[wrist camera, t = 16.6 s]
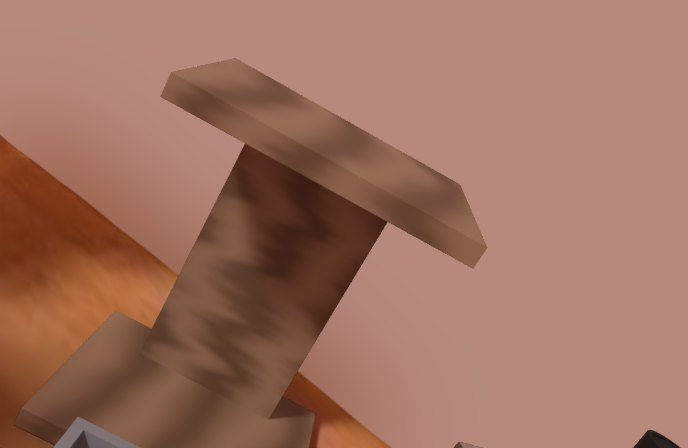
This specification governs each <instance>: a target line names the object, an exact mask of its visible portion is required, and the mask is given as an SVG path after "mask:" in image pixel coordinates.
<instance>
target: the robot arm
mask: <svg viewBox="0 0 688 448" xmlns="http://www.w3.org/2000/svg"><path fill="white" fill-rule="evenodd" d="M454 448H481V447H478V446H474V445H470V444H466V443H463V442H459V443H458V444H457V445H455V447H454Z"/></svg>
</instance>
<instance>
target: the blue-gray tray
mask: <svg viewBox="0 0 688 448" xmlns="http://www.w3.org/2000/svg"><path fill="white" fill-rule="evenodd" d="M53 448H140V447H138V446H136V445H134V444H132V443H130V442H128V441H126V440H124V439H122V438H120V437H118V436H116V435H114V434H112V433H110V432H108V431H106V430H104V429H102V428H100V427H98V426H96V425H94V424H92V423H90V422H88V421H86V420H84V419H82V418H80V417H77V418H76V420H75V421H74V422H73V423H72V425H71V426H70V427H69V428H68V430H67V431H66V432H65V434H64V435H63V436H62V437H61V439H60V440H59V441H58V442H57V444H56V445H55V446H54V447H53Z"/></svg>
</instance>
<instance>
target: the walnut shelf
mask: <svg viewBox="0 0 688 448" xmlns="http://www.w3.org/2000/svg"><path fill="white" fill-rule="evenodd" d="M161 97H162V98H164V99H165V100H167V101H169V102H171V103H173V104H175V105H177V106H178V107H180V108H182V109H184V110H185V111H187V112H189V113H191V114H193V115H195V116H197V117H198V118H200V119H202V120H204V121H206V122H207V123H209V124H211V125H213V126H215V127H216V128H218V129H220V130H222V131H224V132H225V133H227V134H229V135H231V136H233V137H235V138H237V139H238V140H240V141H242V142H244V143H245V145H244V147H243V149H242V151H241V153H240V155H239V157H238V159H237V161H236V163H235V165H234V167H233V169H232V171H231V173H230V175H229V177H228V179H227V181H226V183H225V185H224V186H223V188H222V190H221V193H220V194H219V196H218V199H217V201H216V203H215V204H214V207H213V208H212V210H211V213H210V214H209V216H208V218H207V220H206V222H205V224H204V226H203V228H202V231H201V232H200V234H199V236H198V238H197V240H196V242H195V244H194V246H193V248H192V250H191V252H190V254H189V256H188V258H187V260H186V262H185V264H184V266H183V268H182V270H181V272H180V274H179V276H178V278H177V280H176V282H175V284H174V286H173V288H172V290H171V292H170V294H169V296H168V298H167V300H166V302H165V304H164V306H163V308H162V310H161V312H160V314H159V316H158V318H157V320H156V322H155V324H154V326H153V328H152V329H151V328H149V327H147V326H145V325H143V324H141V323H139V322H137V321H135V320H133V319H131V318H129V317H128V316H126V315H124V314H122V313H120V312H118V311H116V310H115V311H114V312H113V313H112V314H111V315H110V316H109V317H108V318H107V319H106V321H105V322H104V323H103V324H102V325H101V326H100V327H99V328H98V329H97V330H96V331H95V332H94V333H93V334H92V335H91V336H90V337H89V338H88V339H87V340H86V341H85V342H84V343H83V344H82V345H81V346H80V347H79V349H78V350H77V351H76V352H75V353H74V354H73V355H72V356H71V357H70V358H69V359H68V360H67V361H66V362H65V363H64V364H63V365H62V366H61V367H60V368H59V369H58V370H57V371H56V372H55V373H54V374H53V375H52V376H51V378H50V379H49V380H48V381H47V382H46V383H45V384H44V385H43V386H42V387H41V388H40V389H39V390H38V391H37V392H36V393H35V394H34V395H33V396H32V397H31V398H30V399H29V400H28V401H27V402H26V403H25V404H24V406H23V407H22V408H21V409H20V412H19V414H18V416H17V418H16V421H15V423H14V425H15V426H17V427H19V428H21V429H23V430H25V431H27V432H29V433H31V434H33V435H35V436H37V437H39V438H41V439H43V440H45V441H47V442H50V443H52V444H54V445H56V444H57V442H58V441H59V440H60V439H61V437H62V436H63V435H64V434H65V432H66V431H67V430H68V428H69V427H70V426H71V425H72V423H73V422H74V421H75V420H76V418H77V417H80V418H82V419H84V420H86V421H88V422H90V423H92V424H94V425H96V426H98V427H100V428H102V429H104V430H106V431H108V432H110V433H112V434H114V435H116V436H118V437H120V438H122V439H124V440H126V441H128V442H130V443H132V444H134V445H136V446H138V447H140V448H309V444H310V439H311V434H312V429H313V423H314V418H315V413H314V412H312V411H310V410H308V409H306V408H304V407H302V406H300V405H298V404H296V403H294V402H293V401H291V400H289V399H287V398H285V397H283V394H284V393H285V391H286V389H287V388H288V386H289V384H290V383H291V381H292V379H293V378H294V376H295V374H296V373H297V371H298V369H299V368H300V366H301V364H302V363H303V361H304V359H305V358H306V356H307V355H308V353H309V351H310V349H311V348H312V346H313V344H314V343H315V341H316V340H317V338H318V336H319V335H320V333H321V331H322V330H323V328H324V326H325V325H326V323H327V321H328V320H329V318H330V316H331V315H332V313H333V311H334V310H335V308H336V307H337V305H338V303H339V302H340V300H341V298H342V297H343V295H344V293H345V291H346V290H347V288H348V287H349V285H350V283H351V282H352V280H353V278H354V277H355V275H356V273H357V272H358V270H359V268H360V267H361V265H362V264H363V262H364V260H365V259H366V257H367V255H368V254H369V252H370V250H371V249H372V247H373V245H374V243H375V242H376V240H377V238H378V237H379V235H380V234H381V232H382V230H383V229H384V227H385V225H386V223H387V222H389V223H391V224H393V225H395V226H396V227H398V228H400V229H402V230H404V231H405V232H407V233H409V234H411V235H413V236H414V237H416V238H418V239H420V240H422V241H424V242H425V243H427V244H429V245H431V246H433V247H435V248H436V249H438V250H440V251H442V252H443V253H445V254H447V255H449V256H451V257H453V258H454V259H456V260H458V261H460V262H462V263H463V264H465V265H467V266H469V267H471V268H474V266H475V265H476V263H477V262H478V261H479V259H480V258H481V256H482V255H483V253H484V251H485V250H486V249H487V246H486V244H485V241H484V239H483V236H482V234H481V232H480V230H479V227H478V225H477V223H476V220H475V218H474V216H473V214H472V211H471V209H470V206H469V204H468V202H467V200H466V197H465V195H464V193H463V190H462V188H461V186H460V185H459V184H458V183H456V182H455V181H453V180H451V179H449V178H447V177H446V176H444V175H442V174H440V173H439V172H437V171H435V170H433V169H431V168H430V167H428V166H426V165H424V164H422V163H421V162H419V161H417V160H415V159H414V158H412V157H410V156H408V155H407V154H405V153H402V152H401V151H399V150H398V149H396V148H394V147H392V146H391V145H389V144H387V143H385V142H383V141H382V140H380V139H378V138H376V137H374V136H373V135H371V134H369V133H367V132H366V131H364V130H362V129H360V128H358V127H357V126H355V125H353V124H351V123H350V122H348V121H346V120H344V119H342V118H341V117H339V116H337V115H335V114H333V113H331V112H330V111H328V110H327V109H325V108H323V107H321V106H319V105H318V104H316V103H314V102H312V101H310V100H309V99H307V98H305V97H303V96H302V95H300V94H298V93H296V92H294V91H293V90H291V89H289V88H287V87H286V86H284V85H282V84H280V83H278V82H277V81H275V80H273V79H271V78H270V77H268V76H266V75H264V74H263V73H261V72H259V71H257V70H255V69H254V68H251V67H250V66H248V65H247V64H245V63H243V62H241V61H239V60H238V59H236V58H234V59H230V60H226V61H221V62H216V63H211V64H207V65H202V66H197V67H193V68H188V69H184V70H179V71H174V72H171V74H170V76H169V78H168V80H167V83H166V85H165V87H164V90H163V92H162V94H161Z"/></svg>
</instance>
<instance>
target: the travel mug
mask: <svg viewBox="0 0 688 448" xmlns="http://www.w3.org/2000/svg"><path fill="white" fill-rule="evenodd" d="M634 448H680V447H679V446H678V445H676V444H675V443H673V442H672V441H671V440H669V439H667V438H666V437H664V436H663V435H661V434H659V433H657V432H655V431H653V430H648V431H647V432H646V433H645V434H644V436H643V437H642V438H641V439H640V440H639V442H638V443H637V444H636V445H635V446H634Z"/></svg>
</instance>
